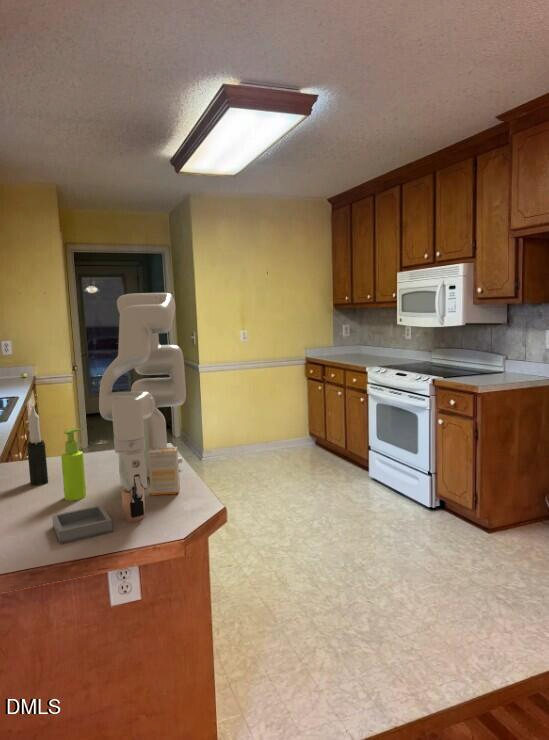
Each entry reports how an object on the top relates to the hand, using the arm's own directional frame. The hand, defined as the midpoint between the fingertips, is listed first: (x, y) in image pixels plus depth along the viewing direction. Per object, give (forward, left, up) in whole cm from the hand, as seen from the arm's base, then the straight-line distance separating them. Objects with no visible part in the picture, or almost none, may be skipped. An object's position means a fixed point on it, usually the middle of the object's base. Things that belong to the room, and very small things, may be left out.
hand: (134, 511), depth 135 cm
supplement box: (-13, -14, -2) cm, 19 cm away
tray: (+13, 0, -1) cm, 13 cm away
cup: (0, 0, -2) cm, 2 cm away
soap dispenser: (+10, -26, -2) cm, 28 cm away
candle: (+18, -47, -2) cm, 50 cm away
